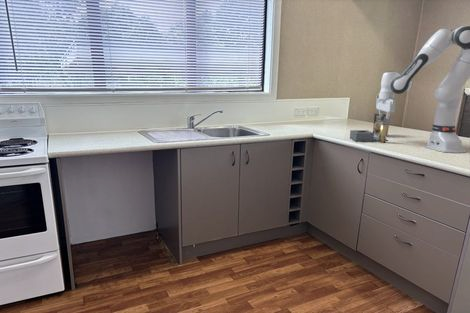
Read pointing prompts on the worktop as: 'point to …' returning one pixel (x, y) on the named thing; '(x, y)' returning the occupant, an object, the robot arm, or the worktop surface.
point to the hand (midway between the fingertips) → (383, 117)
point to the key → (382, 133)
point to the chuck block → (361, 135)
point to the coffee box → (378, 122)
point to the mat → (378, 139)
